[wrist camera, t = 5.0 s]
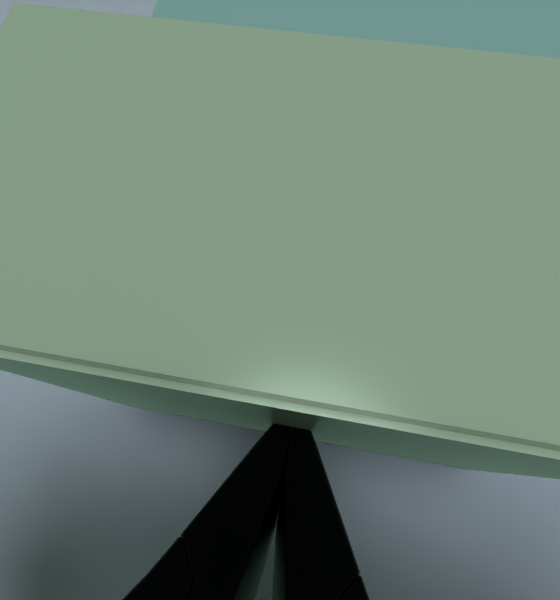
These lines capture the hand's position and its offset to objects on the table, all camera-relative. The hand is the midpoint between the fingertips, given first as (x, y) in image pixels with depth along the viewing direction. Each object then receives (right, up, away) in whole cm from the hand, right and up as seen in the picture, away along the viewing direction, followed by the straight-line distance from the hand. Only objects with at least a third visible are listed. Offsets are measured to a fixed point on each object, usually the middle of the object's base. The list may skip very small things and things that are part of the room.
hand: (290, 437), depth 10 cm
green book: (+1, +1, +6) cm, 6 cm away
